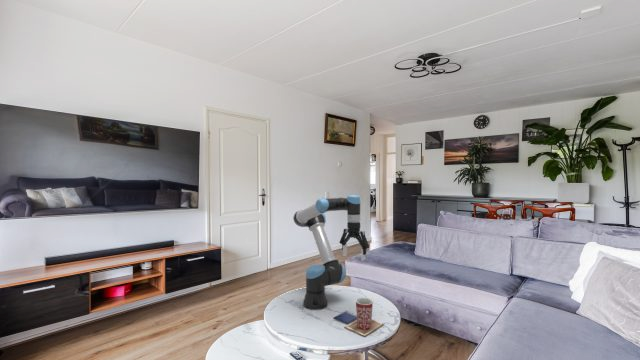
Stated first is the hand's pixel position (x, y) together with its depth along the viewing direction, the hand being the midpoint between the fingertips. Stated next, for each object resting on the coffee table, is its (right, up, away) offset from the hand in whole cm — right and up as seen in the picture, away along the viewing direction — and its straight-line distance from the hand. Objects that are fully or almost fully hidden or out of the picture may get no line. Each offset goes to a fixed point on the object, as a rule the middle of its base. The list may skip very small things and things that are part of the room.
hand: (353, 258), depth 168 cm
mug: (+3, -31, -16) cm, 35 cm away
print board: (+3, -32, -17) cm, 36 cm away
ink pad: (-5, -32, -8) cm, 33 cm away
